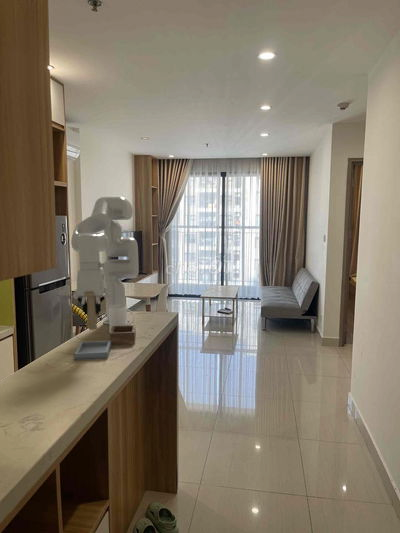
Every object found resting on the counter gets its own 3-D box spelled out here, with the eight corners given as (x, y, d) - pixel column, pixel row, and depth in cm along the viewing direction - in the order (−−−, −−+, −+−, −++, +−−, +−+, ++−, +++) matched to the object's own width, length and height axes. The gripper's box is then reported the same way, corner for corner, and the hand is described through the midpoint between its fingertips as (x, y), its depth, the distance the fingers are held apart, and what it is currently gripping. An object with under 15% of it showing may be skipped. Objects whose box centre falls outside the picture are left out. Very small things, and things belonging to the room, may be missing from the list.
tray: (81, 347, 159) (80, 341, 158) (111, 346, 160) (111, 340, 160) (74, 360, 145) (74, 354, 145) (107, 358, 146) (107, 352, 146)
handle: (101, 326, 154) (100, 289, 152) (95, 331, 148) (93, 292, 146) (89, 326, 155) (88, 289, 153) (83, 331, 148) (81, 292, 146)
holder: (112, 337, 172) (112, 326, 172) (135, 336, 174) (135, 325, 173) (110, 345, 162) (109, 333, 161) (134, 344, 163) (134, 332, 162)
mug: (137, 329, 184) (136, 304, 182) (131, 335, 175) (130, 309, 174) (113, 328, 185) (112, 304, 184) (106, 334, 177) (105, 308, 175)
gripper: (113, 264, 153) (114, 310, 155) (69, 266, 151) (71, 312, 153) (111, 267, 145) (113, 315, 148) (65, 268, 143) (67, 317, 146)
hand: (92, 313), depth 150 cm, fingers closed on handle, 3 cm apart
